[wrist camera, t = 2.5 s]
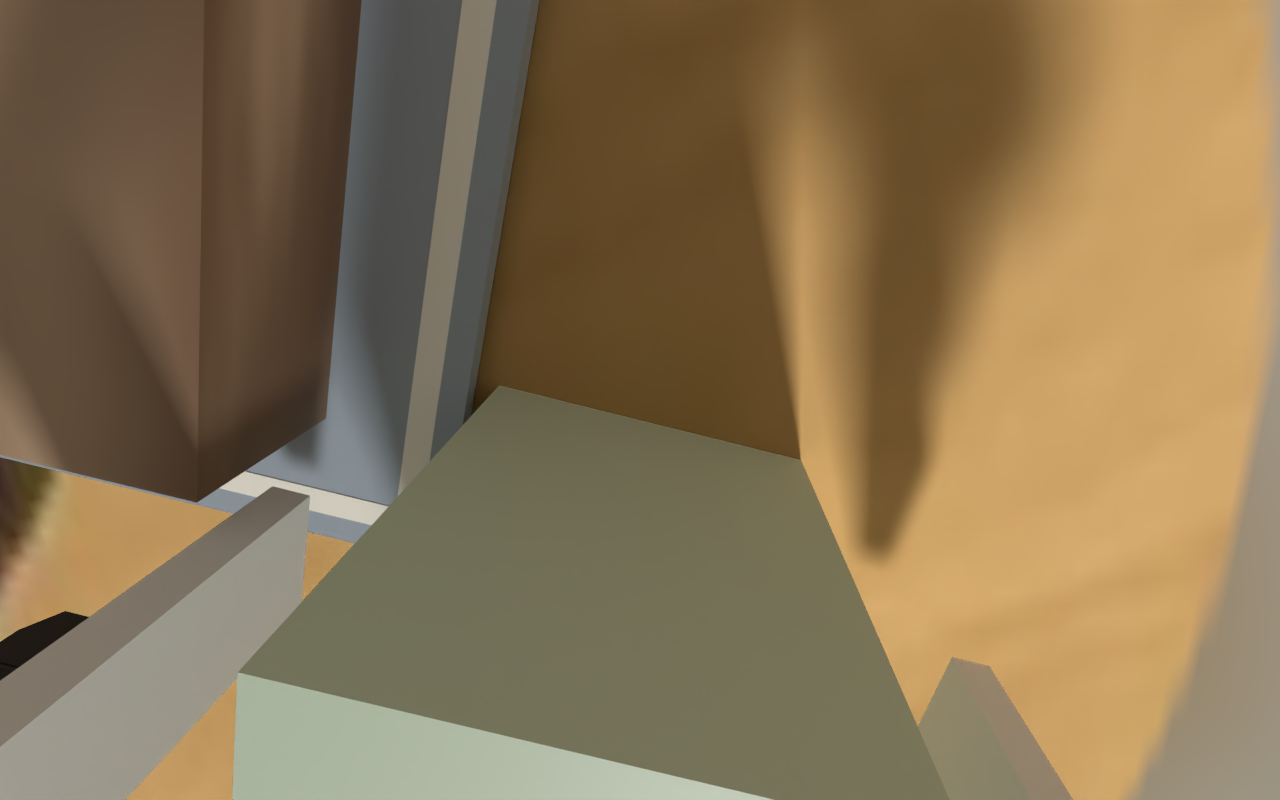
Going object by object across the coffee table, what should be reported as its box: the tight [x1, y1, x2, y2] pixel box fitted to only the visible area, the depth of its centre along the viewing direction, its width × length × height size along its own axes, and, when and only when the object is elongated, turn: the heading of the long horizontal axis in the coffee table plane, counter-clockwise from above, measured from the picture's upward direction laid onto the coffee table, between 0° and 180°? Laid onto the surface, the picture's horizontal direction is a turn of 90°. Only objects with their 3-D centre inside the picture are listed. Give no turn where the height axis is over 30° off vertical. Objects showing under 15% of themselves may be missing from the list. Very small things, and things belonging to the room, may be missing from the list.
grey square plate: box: [0, 0, 539, 543], centre depth 12 cm, size 18×18×1 cm
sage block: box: [232, 385, 950, 800], centre depth 11 cm, size 7×7×9 cm
